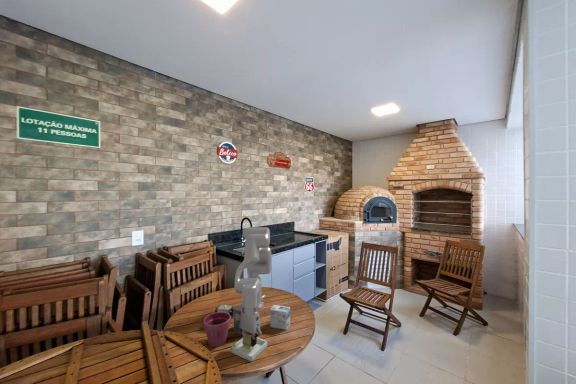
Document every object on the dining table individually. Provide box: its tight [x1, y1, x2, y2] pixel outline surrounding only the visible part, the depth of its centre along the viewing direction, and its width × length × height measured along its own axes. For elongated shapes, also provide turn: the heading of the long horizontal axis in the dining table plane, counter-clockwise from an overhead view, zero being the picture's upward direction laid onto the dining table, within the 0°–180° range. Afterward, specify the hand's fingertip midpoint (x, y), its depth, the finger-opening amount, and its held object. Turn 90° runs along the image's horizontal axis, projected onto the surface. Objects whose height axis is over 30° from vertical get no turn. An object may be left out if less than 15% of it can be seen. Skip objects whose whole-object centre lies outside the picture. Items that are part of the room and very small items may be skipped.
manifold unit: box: [233, 303, 242, 335], centre depth 142 cm, size 9×10×15 cm
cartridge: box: [242, 331, 255, 350], centre depth 125 cm, size 5×5×8 cm
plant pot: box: [203, 312, 232, 348], centre depth 131 cm, size 14×14×13 cm
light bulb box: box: [269, 304, 291, 331], centre depth 147 cm, size 11×7×11 cm, turn 71°
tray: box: [230, 336, 269, 363], centre depth 125 cm, size 13×13×2 cm
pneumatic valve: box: [214, 304, 235, 320], centre depth 148 cm, size 6×12×12 cm, turn 78°
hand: (249, 343), depth 125 cm, fingers closed on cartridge, 5 cm apart
